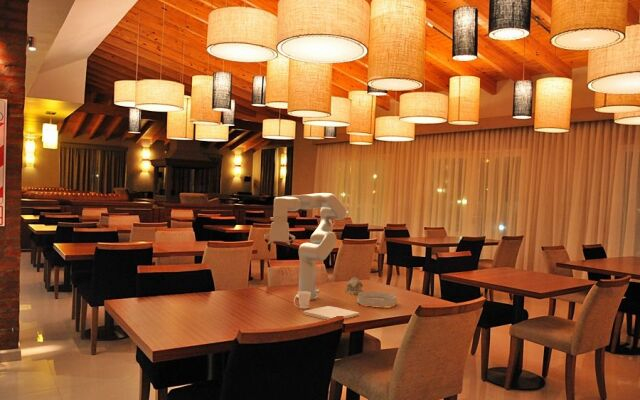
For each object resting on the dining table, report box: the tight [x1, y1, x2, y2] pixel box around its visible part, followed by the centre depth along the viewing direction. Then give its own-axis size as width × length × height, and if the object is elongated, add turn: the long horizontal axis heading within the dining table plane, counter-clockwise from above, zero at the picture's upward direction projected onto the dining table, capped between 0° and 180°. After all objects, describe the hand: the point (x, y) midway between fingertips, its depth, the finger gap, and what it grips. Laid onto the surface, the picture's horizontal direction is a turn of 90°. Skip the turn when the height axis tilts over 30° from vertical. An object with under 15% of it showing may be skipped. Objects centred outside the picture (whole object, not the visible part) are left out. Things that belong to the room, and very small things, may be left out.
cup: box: [293, 291, 311, 310], centre depth 274 cm, size 7×10×8 cm
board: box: [302, 305, 360, 321], centre depth 261 cm, size 20×20×2 cm
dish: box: [356, 291, 397, 307], centre depth 294 cm, size 22×22×5 cm
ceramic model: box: [344, 276, 365, 294], centre depth 324 cm, size 14×11×10 cm
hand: (278, 251), depth 282 cm, fingers open, 9 cm apart
